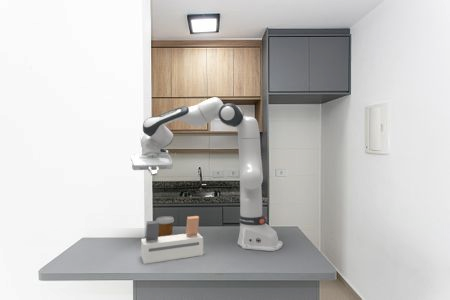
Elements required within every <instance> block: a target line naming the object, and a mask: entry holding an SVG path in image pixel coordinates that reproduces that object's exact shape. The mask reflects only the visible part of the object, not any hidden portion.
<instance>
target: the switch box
mask: <svg viewBox="0 0 450 300" xmlns="http://www.w3.org/2000/svg"><path fill="white" fill-rule="evenodd" d="M140 239H141V241H140V243H141V244H140V245H141V247H140V248H141V249H140V250H141V251H140V253H141V255H140V256H141V260H142V262H143V264H144V265H147V264H152V263H153V264H154V263H160V262H166V261H173V260H180V259H185V258H192V257H199V256H200V257H201V256H204V237H203V236H202V235H201V234H200V233H199V232H198V233H197V235H191V236H186V233H179V234H172V235H170V236H162V237H158V240H150V241H146V237H145V238H140Z"/></svg>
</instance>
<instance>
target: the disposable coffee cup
mask: <svg viewBox="0 0 450 300" xmlns="http://www.w3.org/2000/svg"><path fill="white" fill-rule="evenodd" d="M157 220H158V221H159V232H158V237H162V236H170V235H173V227H174V221H175V219H174V217H173V216H169V215H167V216H166V215H164V216H162V215H161V216H158V217H157V218H156V220H155V221H157Z"/></svg>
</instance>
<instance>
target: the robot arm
mask: <svg viewBox="0 0 450 300" xmlns="http://www.w3.org/2000/svg"><path fill="white" fill-rule="evenodd" d="M217 119H219V121H221V122H222V124H224V125H226V126H227V127H230V128H231V127H232V128H235V129H236V130H237V143H238V158H239V159H238V162H239V196H240V197H239V202H240V204H239V205H240V207H239V209H240V211H239V212H240V213H239V219H238V221H239V222H238V223H239V234H238V238H237V239H238V240H237V243H236V244H237V245H238V246H240V247H241V248H242V249H244V250H255V251H267V252H268V251H269V252H276V251H278V250H280V249H281V248H283V245H284V244H283V241H281V240H279V237H278V232H277V231H276V230H274V228H273V227H271V226H270V225H269V224H267V219H268V218H267V216H264V215H263V197H262V196H263V195H262V194H263V193H262V192H263V191H262V183H263V182H264V174H263V172H264V171H263V162H262V152H261V134H260V127H259V122H258V120H257V119H256V118H255V117H253V116H246V115H245V114H244V111H243V110H242V109H241V107H239V106H238V105H236V104H235V103H232V102H227V103H225V104H224V102H223V101H222V100H221V99H220V98H219V97H215V96H214V97H211V98H207V99H205V100H203V101H202V102H201V101H200V102H198V103H197V104H194V105H192V106H186V105H185V106H180V107H176V108H174V109H171V110H169V111H167V112H164V113H162V114H161V113H160V114H159V115H155V116H150V117H148V118H147V119H145V120H144V122H143V124H142V133H143V132H144V136H143V137H142V139H141V138H140V146H141V153H142V154H141V153H139V154H133V155H131V156H130V160H131V162H132V163H131V169H132V170H133V171H148V173H150V176H158V172H159V170H171V169H172V168H173V165H174V162H173V159H172V156H171V155H170V154H169V150H168V149H165V148H166V147H168V146H169V145H171V144H172V142H173V140H174V133H173V132H172V131H171V130H170V129H169V128H168V127H166V125H168V124H171V123H173V122H176V121H182V122H184V123H187V124H189V125H191V126H194V127H203V126H205V125H207V124H209V123H210V122H212V121H215V120H217Z"/></svg>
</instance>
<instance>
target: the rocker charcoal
mask: <svg viewBox="0 0 450 300" xmlns="http://www.w3.org/2000/svg"><path fill="white" fill-rule="evenodd" d="M145 225H146V226H145V238H146V241H150V240H158V232H159V221H158V220H157V221H156V220H150V221H149V220H148V221H146V224H145Z"/></svg>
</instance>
